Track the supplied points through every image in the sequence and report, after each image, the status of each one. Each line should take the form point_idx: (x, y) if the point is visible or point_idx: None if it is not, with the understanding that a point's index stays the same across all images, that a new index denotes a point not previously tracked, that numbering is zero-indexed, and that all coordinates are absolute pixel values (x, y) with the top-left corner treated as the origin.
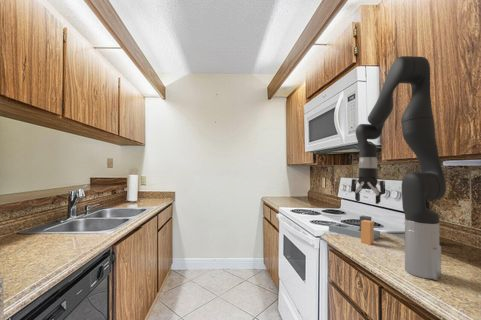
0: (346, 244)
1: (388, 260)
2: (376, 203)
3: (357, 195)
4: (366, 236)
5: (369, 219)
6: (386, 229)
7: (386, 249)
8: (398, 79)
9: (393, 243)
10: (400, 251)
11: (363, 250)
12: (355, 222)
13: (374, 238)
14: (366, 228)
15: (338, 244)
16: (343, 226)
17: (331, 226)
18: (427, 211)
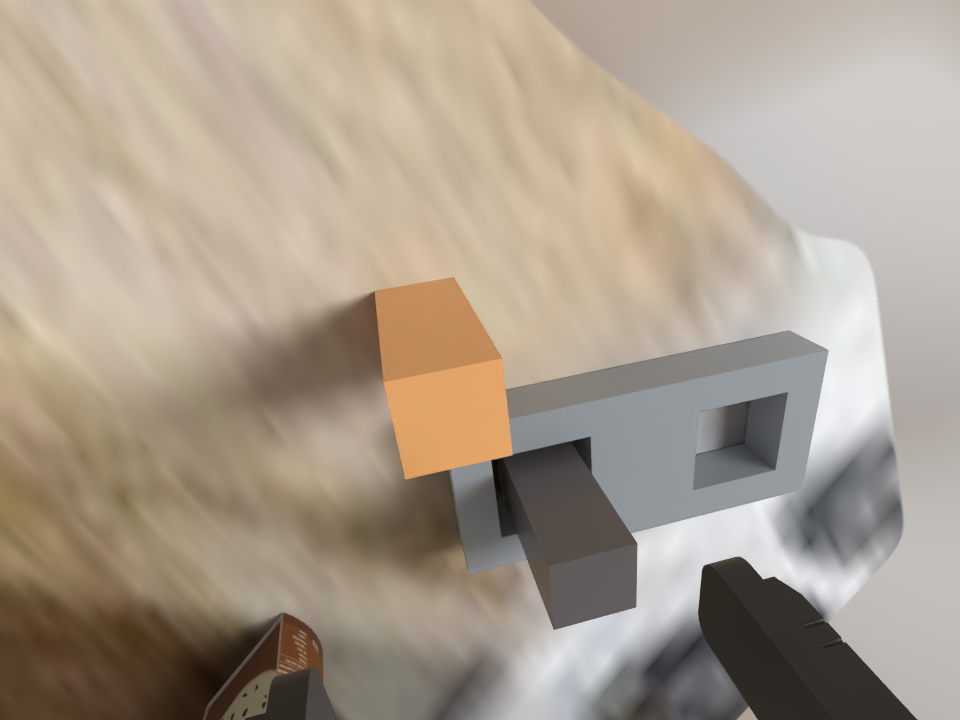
0: (494, 98)
1: None
2: (295, 673)
3: (814, 683)
4: (411, 308)
5: (543, 577)
6: (538, 707)
7: (227, 306)
8: None
9: (314, 495)
10: (141, 363)
11: (294, 70)
12: None
13: None
14: (421, 338)
15: (538, 16)
16: (736, 468)
17: (800, 353)
18: None
